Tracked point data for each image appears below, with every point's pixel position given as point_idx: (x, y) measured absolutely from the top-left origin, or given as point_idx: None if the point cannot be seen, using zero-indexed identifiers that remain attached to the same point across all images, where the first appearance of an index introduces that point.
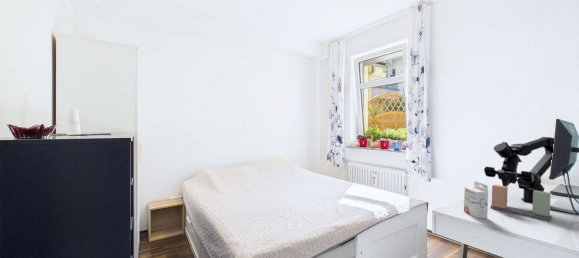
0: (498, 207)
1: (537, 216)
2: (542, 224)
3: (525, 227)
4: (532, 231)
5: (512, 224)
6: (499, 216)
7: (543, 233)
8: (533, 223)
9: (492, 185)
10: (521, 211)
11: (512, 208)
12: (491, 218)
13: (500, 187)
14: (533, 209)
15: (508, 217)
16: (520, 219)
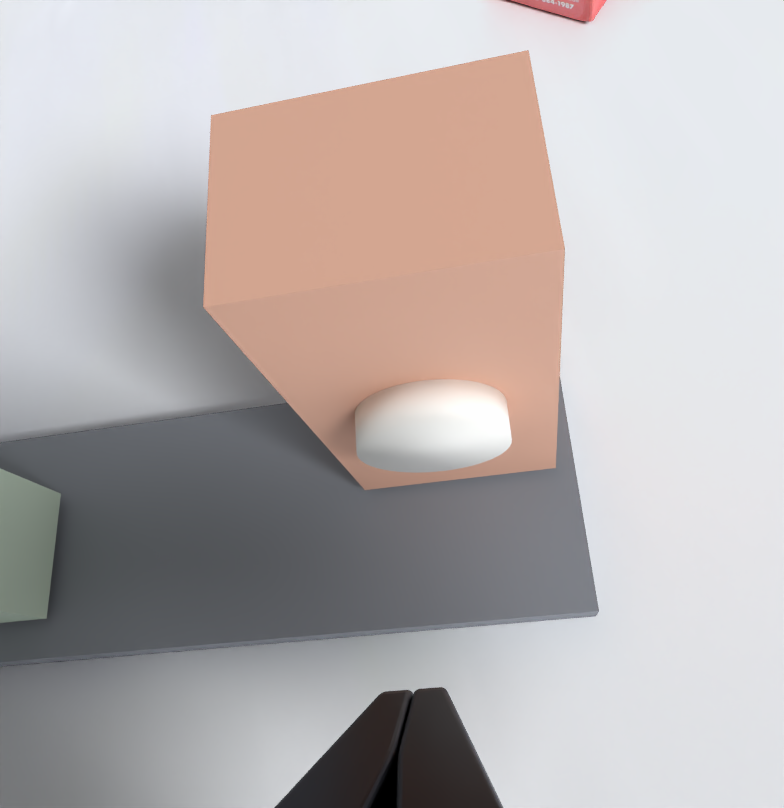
0: None
1: (19, 442)
2: (3, 283)
3: (113, 55)
4: (67, 17)
5: (202, 27)
6: None
7: (4, 49)
8: (69, 232)
9: (527, 56)
10: (182, 485)
11: (302, 540)
12: (374, 5)
13: (331, 109)
14: (8, 476)
15: None
16: (175, 244)
